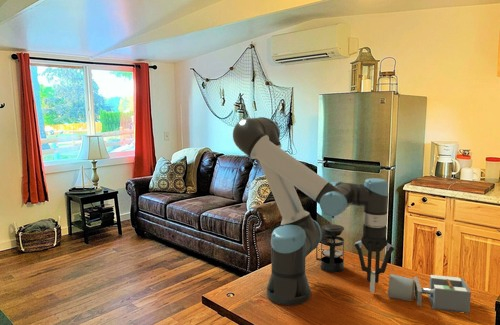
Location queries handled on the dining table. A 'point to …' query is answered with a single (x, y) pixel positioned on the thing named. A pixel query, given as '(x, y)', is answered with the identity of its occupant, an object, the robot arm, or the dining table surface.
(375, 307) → the dining table surface
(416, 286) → the plunger
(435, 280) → the grey bracket housing
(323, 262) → the french press
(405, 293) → the ceramic mug
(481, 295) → the dining table surface
